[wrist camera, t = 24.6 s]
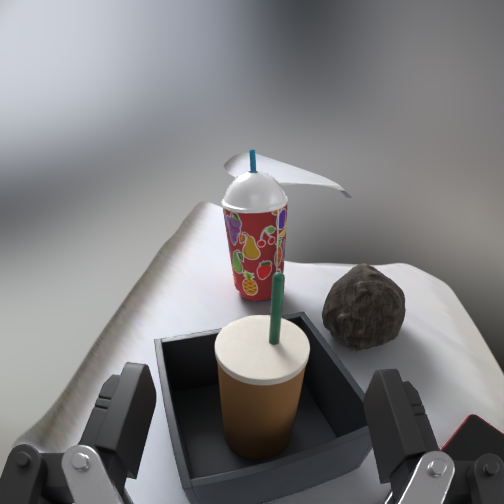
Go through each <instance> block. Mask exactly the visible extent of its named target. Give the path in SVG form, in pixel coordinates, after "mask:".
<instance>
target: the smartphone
mask: <svg viewBox="0 0 504 504" xmlns="http://www.w3.org/2000/svg"><path fill="white" fill-rule="evenodd" d="M440 451H441V452H444V453H446V454H447V455H449V456H450V457H451V459H452V460H458V461H476V460H477V459H478V458H479V457H480V456H482V455H484V454H487V453H492V454H495V455H497V456H499V457H500V458H501V459H502V461H503V463H504V434H503V433H502V432H500V431H499V430H497V429H496V428H495V427H493V426H492V425H490V424H489V423H487V422H486V421H484V420H483V419H482V418H480V417H479V416H477V415H474V414H471V415H469V416H468V417H467V418H466V419H465V421H464V422H463V423H462V424H461V426H460V427H459V428H458V430H457V431H456V432H455V433H454V435H453V436H452V437H451V438H450V439H449V441H448V442H447V443H446V444H445V445H444V446H443V448H442V449H441V450H440Z"/></svg>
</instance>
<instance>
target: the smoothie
mask: <svg viewBox="0 0 504 504" xmlns="http://www.w3.org/2000/svg"><path fill="white" fill-rule="evenodd" d="M250 167H251V171H249V172H246V173H243V174H241V175H240V176H238V177H237V178H235V179H234V180H233V181H232V183H231V184H230V186H229V187H228V189H227V192H226V194H225V197H224V198H223V200H222V206H223V213H224V219H225V226H226V232H227V239H228V245H229V251H230V258H231V264H232V270H233V276H234V283H235V287H236V289H237V290H238V291H239V292H240V294H241V296H242V297H244V298H245V299H248V300H252V301H264V300H269V299H271V294H272V277H273V275H274V274H275V273H276V272H281V273H283V270H284V255H285V254H284V253H285V239H286V222H287V203H288V197H287V196H286V195H285V194H284V191H283V190H282V187H281V186H280V184H279V183H278V182H277V181H276V180H275V179H274V178H273V177H272V176H270V175H268V174H266V173H263V172H260V171H256V159H255V150H250Z"/></svg>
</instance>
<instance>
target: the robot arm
mask: <svg viewBox="0 0 504 504" xmlns="http://www.w3.org/2000/svg"><path fill="white" fill-rule="evenodd" d="M155 405H156V389H155V386H154V383H153V380H152V376H151V373H150V369H149V367H148V365H146V364H138V363H130V362H127V363H126V364H125V366H124V368H123V370H122V373H121V375H112V376H111V377H110V378H109V379H108V380H107V381H106V382H105V383H104V384H103V386H102V389H101V391H100V393H99V398H97V400H96V403H95V407H94V408H93V410H92V412H91V415H90V417H89V420H88V422H87V425H86V427H85V430H84V432H83V435H82V437H81V440H80V442H79V443H78V445H76V446H73V447H71V448H69V449H68V450H67V451H66V452H65V453H39V452H38V451H37V450H36V449H35V448H34V447H33V446H30V445H27V444H22V445H18V446H16V447H15V448H14V449H13V450H12V451H11V452H10V454H9V456H8V459H7V461H6V464H5V467H4V470H3V473H2V475H1V478H0V504H72V503H75V504H133V502H132V500H131V498H130V496H129V494H128V492H127V491H126V489H125V487H124V486H125V482H126V478H127V477H128V478H132V479H136V478H137V474H138V470H139V466H140V462H141V458H142V454H143V450H144V446H145V443H146V439H147V435H148V431H149V428H150V424H151V420H152V417H153V413H154V409H155ZM364 412H365V416H366V420H367V424H368V429H369V433H370V437H371V441H372V446H373V450H374V455H375V459H376V464H377V469H378V474H379V479H380V484H384V483H389V482H391V487H392V489H391V490H390V492H389V494H388V495H387V497H386V499H385V501H384V502H383V504H504V463H503V461H502V459H501V458H500V457H499V456H497V455H495V454H492V453H487V454H484V455H482V456H480V457H479V458H478V459H477V460H476V461H458V460H452V459H451V457H450V456H449V455H447V454H446V453H444V452H441V451H440V449H439V447H438V445H437V442H436V439H435V436H434V434H433V431H432V428H431V425H430V422H429V420H428V417H427V414H425V409H424V406H423V405H422V401H421V399H420V396H419V394H418V391H417V390H416V389H415V388H414V387H413V386H412V385H411V383H410V382H409V381H407V382H402V380H401V377H400V375H399V372H398V370H397V369H385V370H376V371H375V372H374V374H373V377H372V379H371V382H370V384H369V387H368V389H367V391H366V394H365V397H364Z"/></svg>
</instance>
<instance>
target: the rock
mask: <svg viewBox="0 0 504 504" xmlns="http://www.w3.org/2000/svg"><path fill="white" fill-rule="evenodd" d="M405 311H406V310H405V297H404V293H403V291H402V290H401V288H400V287H399V286H398V285H397V284H396V283H395V282H394V281H392V280H391V279H390V278H388V277H386V276H385V275H384V274H382V273H381V272H380V271H378V270H377V269H375V268H374V267H372V266H370V265H368V264H366V263H362V264H360V265H357V266H355V267H353V268H352V269H351V270H350V271H349V272H348V273H347V274H345V275H344V276H343V277H342V278H340V279H339V280H338V281H337V282H335V283H334V285H333V286H332V288H331V290H330V292H329V294H328V296H327V298H326V300H325V304H324V307H323V311H322V318H323V324H324V326H325V327H326V328H327V330H329V331H330V333H331V335H332V336H333V337H334V338H335V339H336V340H338V341H339V342H341V343H342V344H343V345H345V346H347V347H350V348H351V350H354V351H356V352H358V351H361V350H364V349H369V348H371V347H376V346H380V345H383V344H385V343H387V342H388V341H391V340H394V339H395V338H396V337H397V336H398V334H399V331H400V328H401V326H402V323H403V321H404V317H405Z"/></svg>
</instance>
